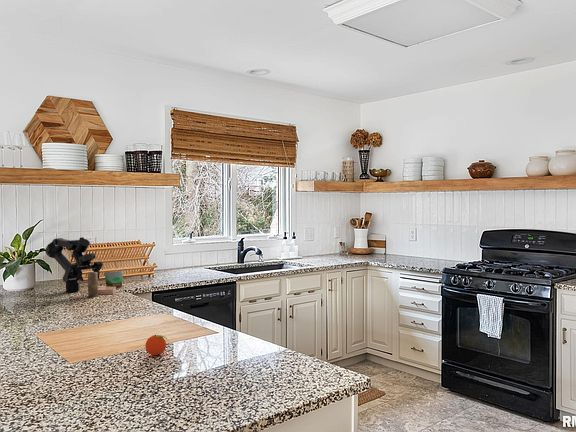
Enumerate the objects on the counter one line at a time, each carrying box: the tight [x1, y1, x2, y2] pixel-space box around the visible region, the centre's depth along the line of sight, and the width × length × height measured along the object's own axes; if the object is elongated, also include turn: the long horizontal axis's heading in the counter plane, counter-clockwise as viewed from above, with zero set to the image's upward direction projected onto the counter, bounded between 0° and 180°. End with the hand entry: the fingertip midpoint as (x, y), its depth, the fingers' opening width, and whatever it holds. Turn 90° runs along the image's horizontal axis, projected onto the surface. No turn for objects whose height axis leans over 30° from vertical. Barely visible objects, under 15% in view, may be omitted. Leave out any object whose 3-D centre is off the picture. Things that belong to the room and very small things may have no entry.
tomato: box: [144, 334, 169, 356], centre depth 172 cm, size 8×7×7 cm
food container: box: [103, 269, 125, 289], centre depth 298 cm, size 12×6×10 cm, turn 143°
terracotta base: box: [98, 286, 117, 295], centre depth 283 cm, size 9×9×2 cm
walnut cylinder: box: [87, 271, 99, 298], centre depth 273 cm, size 5×5×13 cm
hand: (91, 279), depth 274 cm, fingers open, 9 cm apart
